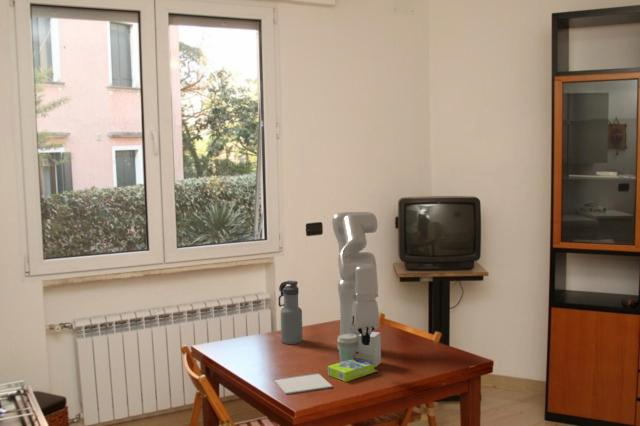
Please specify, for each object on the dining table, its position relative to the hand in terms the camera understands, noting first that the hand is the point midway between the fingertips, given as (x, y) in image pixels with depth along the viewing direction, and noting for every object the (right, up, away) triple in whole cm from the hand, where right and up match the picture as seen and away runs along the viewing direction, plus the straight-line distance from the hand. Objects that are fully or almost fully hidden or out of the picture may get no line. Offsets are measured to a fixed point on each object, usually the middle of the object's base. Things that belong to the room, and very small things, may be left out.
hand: (365, 344), depth 251 cm
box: (-12, -11, -3) cm, 16 cm away
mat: (-24, -13, -8) cm, 28 cm away
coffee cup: (-6, -11, +14) cm, 19 cm away
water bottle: (-31, -9, +48) cm, 58 cm away
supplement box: (+3, -11, +14) cm, 18 cm away
